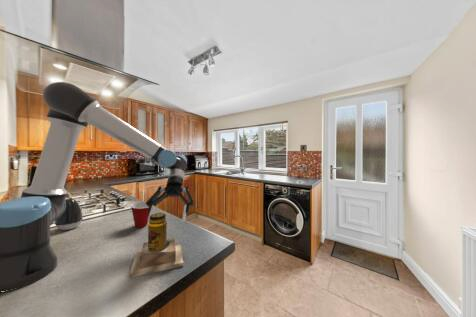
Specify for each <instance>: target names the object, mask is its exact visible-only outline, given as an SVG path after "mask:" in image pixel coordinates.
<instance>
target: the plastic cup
mask: <svg viewBox="0 0 476 317" xmlns="http://www.w3.org/2000/svg"><path fill="white" fill-rule="evenodd" d="M146 202H147V201H137V202H133V203H131V204H130V205H129V207H130V208H131V212H132V219H133V222H134V227H135V228H138V227H141V228H145V227H147V226H148V224H149V221H148V217H149V214H148V210H149V207H148V206H147V205H146ZM146 225H147V226H146ZM144 226H145V227H144Z"/></svg>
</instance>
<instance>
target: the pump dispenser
mask: <svg viewBox="0 0 476 317" xmlns="http://www.w3.org/2000/svg"><path fill="white" fill-rule="evenodd" d="M65 201H66V208H65V211H64V213H63V214H62V215H61V216H60V217H59V218H58V219H57V220H55V221H54V225H55V226H56V229H57V230H59V231H70V230H73V229H76V228H77V227H79V226H80V225H81V222H82V220H83V218H84V216H83V211H82V208H81V206H80V204H79V203H78V202H79V201H77V200H76V199H73V198H66V200H65Z"/></svg>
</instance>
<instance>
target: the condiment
mask: <svg viewBox="0 0 476 317" xmlns="http://www.w3.org/2000/svg"><path fill="white" fill-rule="evenodd" d="M166 216H167V215H166V213H164V212H156V213H155V212H154V214H152V215H151V216H150V220H149V221H148V223H147V226H148V227H147V228H148V231H147V240H148V241H147V242H148V248H147V249H146V251H145V252H144V253H159V252H166V251H167V249H168V247H169V244H170V242H171V240H167V239H168V238H167V233H168V232H167V230H168V227H167V226H168V224H167V223H168V222H167V219H166ZM149 222H150V223H149Z"/></svg>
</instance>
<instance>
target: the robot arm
mask: <svg viewBox="0 0 476 317" xmlns="http://www.w3.org/2000/svg"><path fill="white" fill-rule="evenodd" d="M42 98H43V101H44V103H45V104H46V106H47V107H49V108H48V110H47V111H48V112H47V115H46V116H45V117H46V120H48V122H49V123H50V125H49V128H48V132H47V134H46V137H45V141H44V143H43V147H42V150H41V153H40V156H39V160H38V163H37V165H36V168H35V172H34V175H33V178H32V181H31V185H30V186H28V187H26V188H23V189H22V192H21V195H20V197H18V198H13V199H10V200H9V199H7V200H5V201H2V202H0V292H1V291H6V290H10V291H12V290H11V289H14V290H16V289H15V288H17V289H20V288H22V286H23V287H25V286H27V285H30V284H32V283H34V282H37V281H39V280H42V278H44V277H46V276H48V275H49V274H51V273H52V272H53V271H54V270H55V269H56V268H57V266H58V257H57V255H56V253H55V251H54V249H53V247H52V246H51V243H50V242H51V225H52V224H53V223H55V220H57V219H58V218H59V217H60V216H61V215H62V214H63V213H64V211H65V208H66V201H65V200H67V196H68V191H67V190H66V189H65V185H66V180H67V178H68V174H69V171H70V168H71V164H72V161H73V158H74V154H75V151H76V147H77V144H78V141H79V137H80V135H81V132H82V131H83V130H87V128H88V124H89V125H91V126H93V127H94V128H96V129H98V130H99V131H101V132H103V133H104V134H106V135H108V136H109V137H111V138H113V139H114V140H116V141H118V142H120V143H122V144H124V145H125V146H127V147H128V148H131V149H133V150H134V151H135V152H137V153H140V154H141V155H143V156H145V157H146V160H147V161H148V162H151V163H152V164H155V165H158V166H160V167H163V168H165V169H166V170H167V169H168V170H169V173H168V178H167V181H166V185H165V187H161V186H158V187H157V189H156V191H155V192H154V193H153V194H152V195H151V197H149V198H148V200H147V201H145V202H146V205H147V206H148V207H149V210H148V214H149V217H148V224H149V223H150V222H149V220H150V216H151V215H152V214H155V211H156V207H157V206H158V205H159V204H161V202H163V201H164V200H165V199H167V198H176V197H178V199H180V200H181V201H182V202H183V204H184V205H183V206H184V207H183V214H182V222H184V223H185V222H186V218H187V217H186V216H187V214H189V213H190V208H191V207H194V206H195V202H194V199H193V197H192V195H191V193H190V190H189V186H185V187H183V186H184V181H185V176H186V175H185V173H186V169H187V166H188V165H187V164H188V158H187V157H186V156H185V155H184V154H179V153H178V154H176V152H175V151H174V150H172V149H168V148H166V147H165V146H163V145H162V144H160V143H158V142H157V140H156V141H155V140H154V139H153V138H151V137H149V136H148V135H146V134H144V133H143V132H142V131H140V130H138V129H137V128H135V126H134V127H133V126H132V125H130V124H129V123H127V122H126V121H124V120H123V119H121V118H119V117H118V116H117V115H115V114H113V113H112V112H110V111H109V110H107V109H106V108H104V107H103V106H101V105H100V102H99V101H98V100H97V99H95V98H94V97H93V96H91V95H89V94H88V93H87V92H85V91H84V90H82V89H81V88H80V87H78V86H77V85H75V84H72V83H70V82H65V81H57V82H52V83H50V84H48V85H47V86H45V88H44V89H43V92H42ZM182 192H184V193H185V194H186V196H187V199H188V200H187V199H186V197H185V196H184V195H183V194H182ZM19 287H20V288H19Z"/></svg>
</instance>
